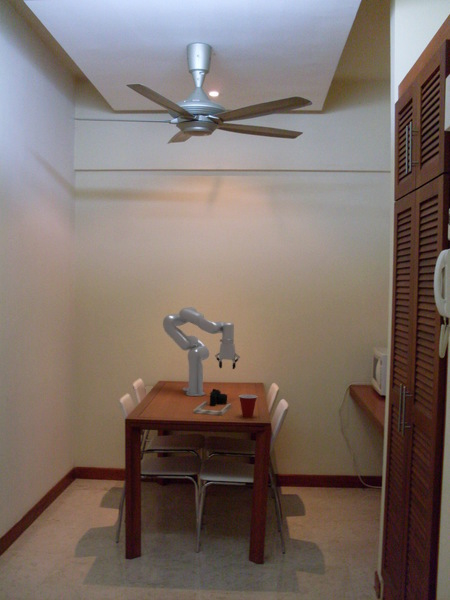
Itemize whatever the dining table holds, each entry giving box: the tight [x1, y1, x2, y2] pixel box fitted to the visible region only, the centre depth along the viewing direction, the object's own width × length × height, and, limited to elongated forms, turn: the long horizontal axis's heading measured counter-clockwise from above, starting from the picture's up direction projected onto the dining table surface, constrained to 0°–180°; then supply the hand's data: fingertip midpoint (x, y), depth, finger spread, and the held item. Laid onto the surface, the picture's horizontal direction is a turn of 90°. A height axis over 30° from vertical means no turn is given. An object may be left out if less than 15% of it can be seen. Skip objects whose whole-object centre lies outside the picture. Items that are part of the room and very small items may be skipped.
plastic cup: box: [238, 394, 258, 418], centre depth 311 cm, size 11×11×12 cm
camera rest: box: [192, 400, 232, 416], centre depth 324 cm, size 17×22×2 cm
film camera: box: [209, 388, 228, 407], centre depth 340 cm, size 15×10×9 cm, turn 168°
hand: (227, 368), depth 354 cm, fingers open, 8 cm apart
